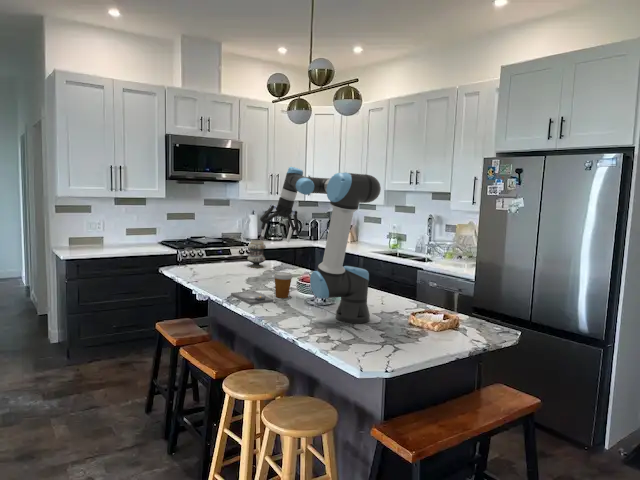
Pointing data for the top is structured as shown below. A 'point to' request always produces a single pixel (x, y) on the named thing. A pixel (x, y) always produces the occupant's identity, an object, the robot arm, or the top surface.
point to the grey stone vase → (256, 253)
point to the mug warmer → (252, 297)
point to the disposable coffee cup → (282, 284)
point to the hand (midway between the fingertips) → (275, 238)
